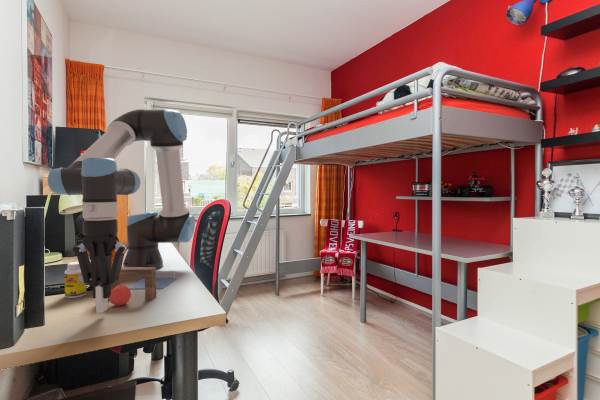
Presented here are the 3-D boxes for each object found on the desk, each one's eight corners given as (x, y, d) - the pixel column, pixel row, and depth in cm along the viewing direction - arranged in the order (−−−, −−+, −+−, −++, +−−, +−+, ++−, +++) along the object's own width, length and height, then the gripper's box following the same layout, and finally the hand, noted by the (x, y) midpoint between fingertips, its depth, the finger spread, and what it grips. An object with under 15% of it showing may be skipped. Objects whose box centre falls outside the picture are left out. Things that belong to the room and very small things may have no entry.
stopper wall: (148, 277, 120) (148, 271, 120) (175, 277, 120) (175, 271, 120) (146, 278, 118) (146, 272, 118) (173, 278, 118) (173, 272, 118)
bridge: (108, 297, 98) (107, 267, 98) (156, 297, 98) (156, 267, 98) (102, 300, 95) (102, 269, 95) (152, 300, 95) (151, 269, 95)
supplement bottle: (60, 297, 98) (59, 264, 97) (78, 292, 103) (78, 260, 102) (72, 299, 96) (72, 265, 95) (91, 294, 101) (90, 261, 100)
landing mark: (143, 279, 118) (143, 278, 118) (176, 278, 118) (176, 278, 118) (126, 289, 106) (126, 288, 106) (162, 289, 106) (162, 288, 106)
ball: (110, 281, 91) (102, 300, 87) (129, 281, 91) (123, 300, 87) (117, 291, 95) (110, 308, 91) (136, 291, 95) (130, 308, 91)
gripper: (63, 220, 78) (66, 316, 79) (118, 220, 78) (119, 315, 79) (84, 217, 85) (85, 305, 86) (133, 217, 86) (134, 305, 86)
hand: (102, 310), depth 83 cm, fingers closed
